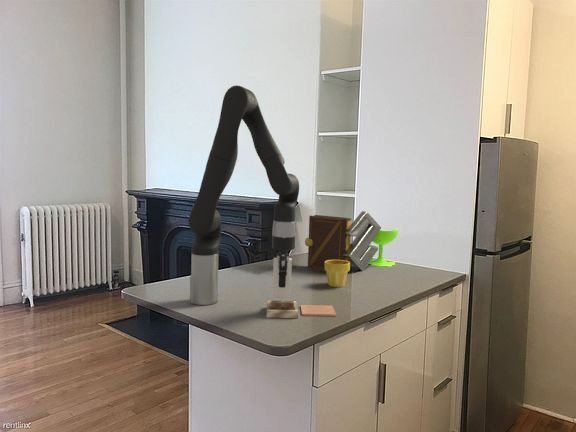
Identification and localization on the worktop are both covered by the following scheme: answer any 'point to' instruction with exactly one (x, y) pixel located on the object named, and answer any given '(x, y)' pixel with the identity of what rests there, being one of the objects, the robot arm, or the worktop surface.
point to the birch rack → (282, 311)
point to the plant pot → (337, 272)
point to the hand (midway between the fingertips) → (281, 285)
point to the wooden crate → (326, 240)
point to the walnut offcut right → (288, 305)
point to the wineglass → (382, 239)
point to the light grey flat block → (278, 291)
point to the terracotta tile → (317, 310)
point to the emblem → (362, 241)
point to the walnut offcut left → (276, 305)
